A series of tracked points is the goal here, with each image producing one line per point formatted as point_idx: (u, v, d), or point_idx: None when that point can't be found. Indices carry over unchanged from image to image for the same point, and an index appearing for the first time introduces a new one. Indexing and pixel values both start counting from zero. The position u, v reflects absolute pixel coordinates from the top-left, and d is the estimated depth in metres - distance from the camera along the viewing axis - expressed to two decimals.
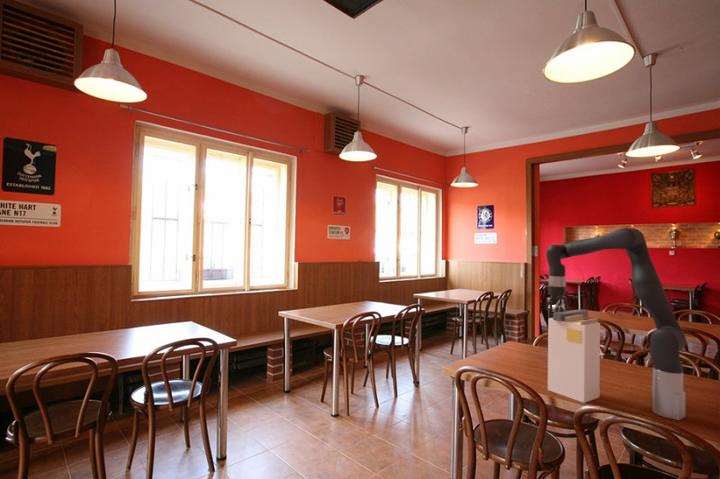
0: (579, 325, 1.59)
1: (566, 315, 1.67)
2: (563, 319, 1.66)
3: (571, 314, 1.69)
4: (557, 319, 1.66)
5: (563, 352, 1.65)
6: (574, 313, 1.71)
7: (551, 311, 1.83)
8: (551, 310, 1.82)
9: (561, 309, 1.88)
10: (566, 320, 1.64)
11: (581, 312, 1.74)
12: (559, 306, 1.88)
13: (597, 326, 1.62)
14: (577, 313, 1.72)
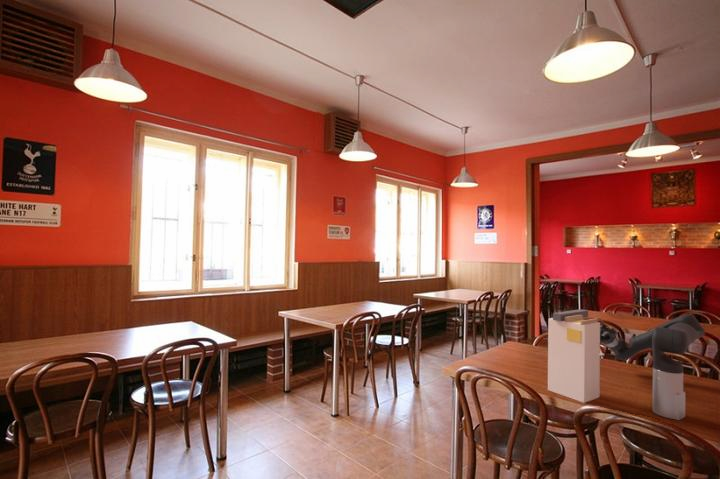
0: (579, 325, 1.59)
1: (566, 315, 1.67)
2: (563, 319, 1.66)
3: (571, 314, 1.69)
4: (557, 319, 1.66)
5: (563, 352, 1.65)
6: (574, 313, 1.71)
7: (607, 330, 1.79)
8: (609, 332, 1.78)
9: None
10: (566, 320, 1.64)
11: (581, 312, 1.74)
12: None
13: (597, 326, 1.62)
14: (577, 313, 1.72)
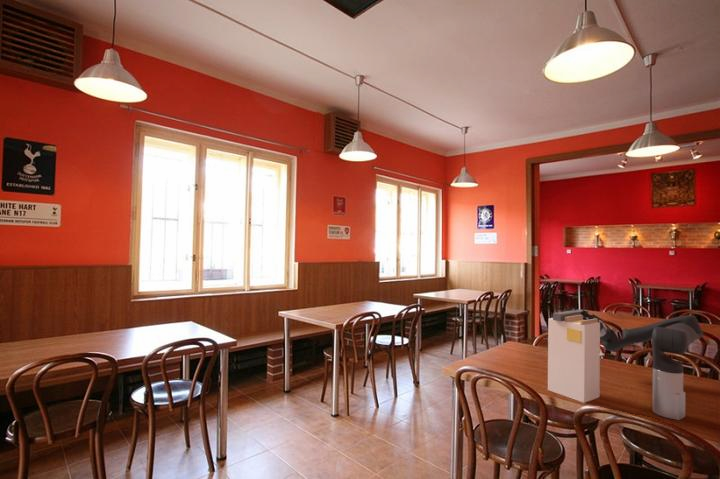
0: (579, 325, 1.59)
1: (566, 315, 1.67)
2: (563, 319, 1.66)
3: (571, 314, 1.69)
4: (557, 319, 1.66)
5: (563, 352, 1.65)
6: (574, 313, 1.71)
7: (588, 316, 1.74)
8: (590, 318, 1.73)
9: None
10: (566, 320, 1.64)
11: None
12: None
13: (597, 326, 1.62)
14: (577, 313, 1.72)
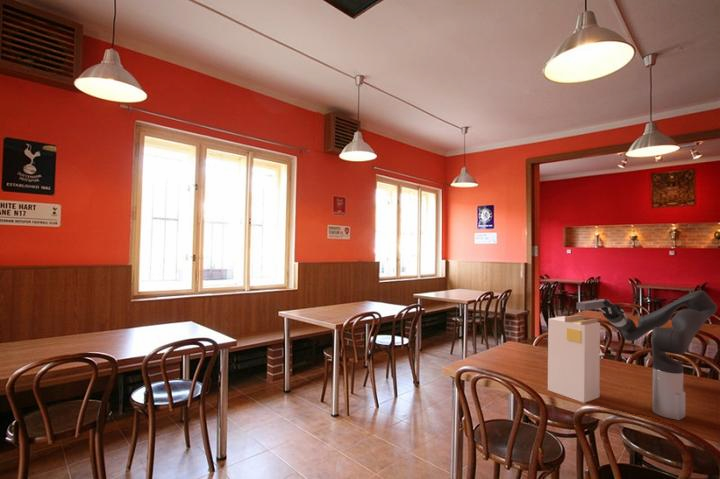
0: (579, 325, 1.59)
1: (590, 304, 1.68)
2: (587, 308, 1.67)
3: (594, 303, 1.70)
4: (581, 308, 1.67)
5: (563, 352, 1.65)
6: (597, 302, 1.71)
7: (610, 306, 1.75)
8: (612, 308, 1.74)
9: None
10: (566, 320, 1.64)
11: None
12: None
13: (597, 326, 1.62)
14: (600, 302, 1.73)
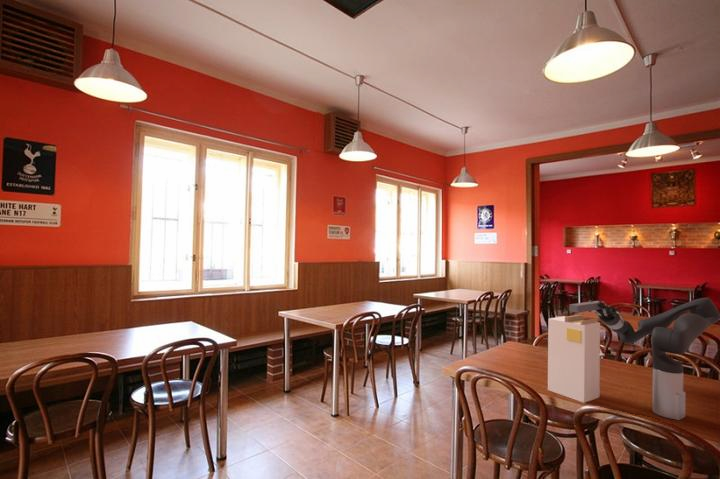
0: (579, 325, 1.59)
1: (583, 306, 1.62)
2: (580, 310, 1.61)
3: (588, 305, 1.64)
4: (574, 310, 1.61)
5: (563, 352, 1.65)
6: (591, 304, 1.65)
7: (605, 308, 1.69)
8: (607, 310, 1.68)
9: None
10: (566, 320, 1.64)
11: None
12: None
13: (597, 326, 1.62)
14: (594, 304, 1.67)
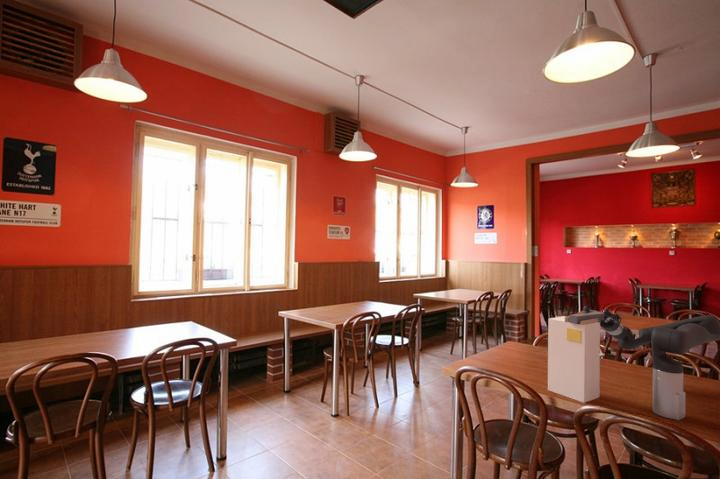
0: (579, 325, 1.59)
1: (583, 317, 1.61)
2: None
3: (587, 316, 1.63)
4: (573, 321, 1.60)
5: (563, 352, 1.65)
6: (590, 315, 1.65)
7: (611, 316, 1.66)
8: (613, 318, 1.66)
9: (589, 311, 1.75)
10: (566, 320, 1.64)
11: (597, 315, 1.68)
12: None
13: (597, 326, 1.62)
14: (593, 315, 1.66)
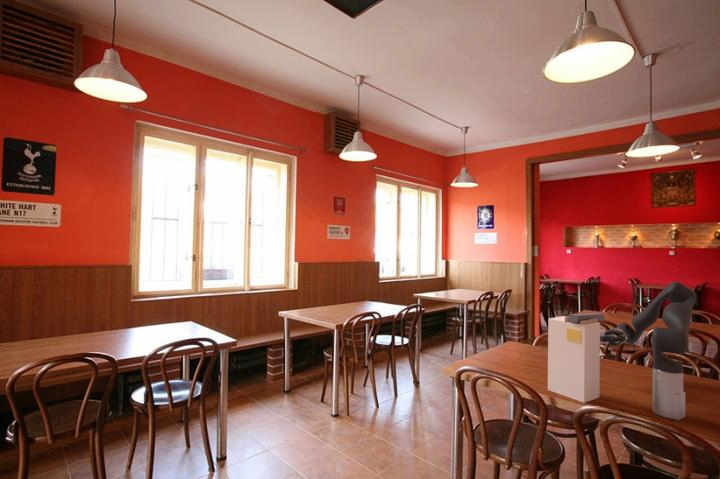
0: (579, 325, 1.59)
1: (583, 317, 1.61)
2: None
3: (588, 316, 1.64)
4: (573, 320, 1.60)
5: (563, 352, 1.65)
6: (591, 315, 1.65)
7: (618, 340, 1.73)
8: (621, 341, 1.73)
9: None
10: (566, 320, 1.64)
11: (597, 315, 1.68)
12: None
13: (597, 326, 1.62)
14: (593, 316, 1.66)
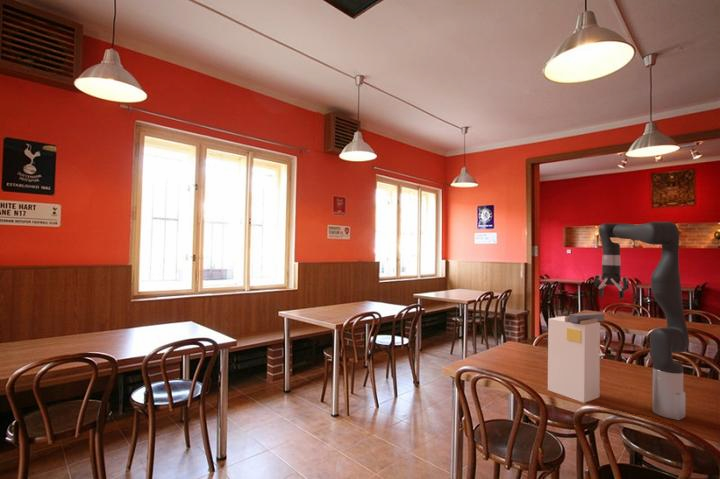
0: (579, 325, 1.59)
1: (583, 317, 1.61)
2: None
3: (588, 316, 1.64)
4: (573, 320, 1.60)
5: (563, 352, 1.65)
6: (591, 315, 1.65)
7: (624, 290, 1.79)
8: (626, 289, 1.79)
9: (602, 288, 1.87)
10: (566, 320, 1.64)
11: (597, 315, 1.68)
12: (603, 285, 1.86)
13: (597, 326, 1.62)
14: (593, 316, 1.66)
